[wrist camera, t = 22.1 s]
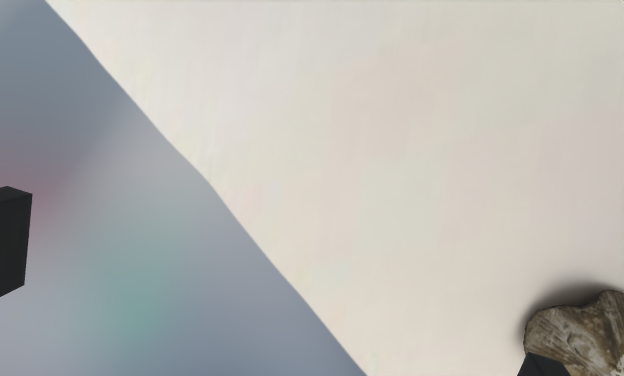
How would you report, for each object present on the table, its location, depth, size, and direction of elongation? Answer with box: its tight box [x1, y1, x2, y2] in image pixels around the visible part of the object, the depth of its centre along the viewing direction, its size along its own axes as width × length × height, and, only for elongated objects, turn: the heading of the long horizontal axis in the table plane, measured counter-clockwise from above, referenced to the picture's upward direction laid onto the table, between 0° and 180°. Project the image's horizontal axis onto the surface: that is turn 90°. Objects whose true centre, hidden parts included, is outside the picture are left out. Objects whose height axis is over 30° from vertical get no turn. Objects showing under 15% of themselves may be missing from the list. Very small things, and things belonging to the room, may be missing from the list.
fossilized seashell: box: [523, 290, 624, 376], centre depth 33 cm, size 8×7×10 cm
